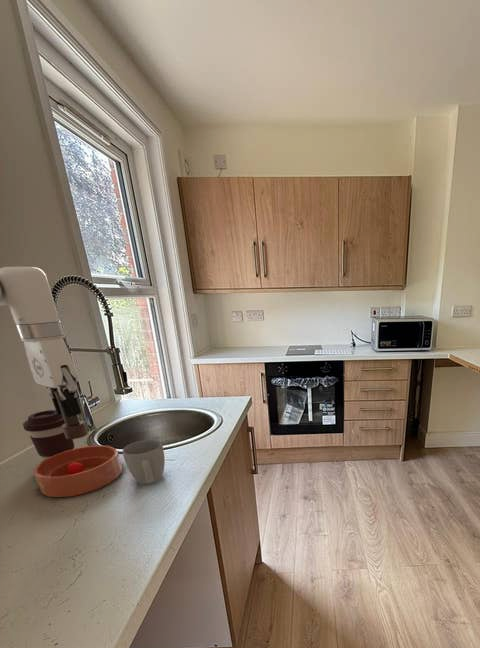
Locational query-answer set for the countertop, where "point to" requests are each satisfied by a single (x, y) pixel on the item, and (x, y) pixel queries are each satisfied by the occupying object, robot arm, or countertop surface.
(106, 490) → the countertop surface
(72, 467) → the tomato
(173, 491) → the countertop surface
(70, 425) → the pestle
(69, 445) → the coffee cup
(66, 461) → the bowl
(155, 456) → the mug
